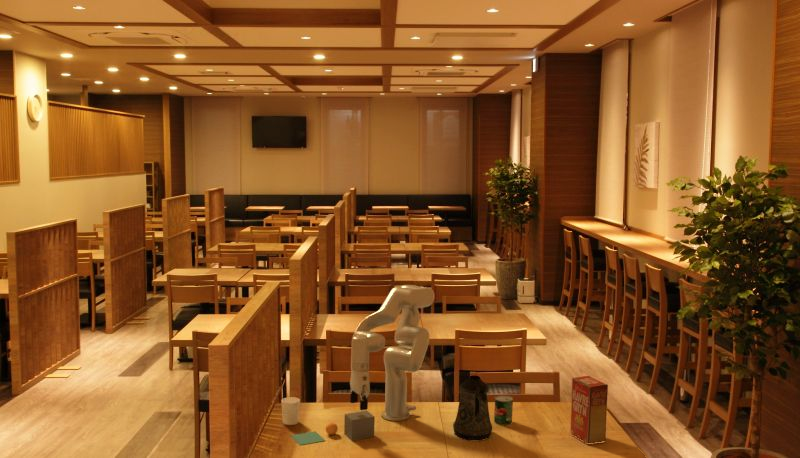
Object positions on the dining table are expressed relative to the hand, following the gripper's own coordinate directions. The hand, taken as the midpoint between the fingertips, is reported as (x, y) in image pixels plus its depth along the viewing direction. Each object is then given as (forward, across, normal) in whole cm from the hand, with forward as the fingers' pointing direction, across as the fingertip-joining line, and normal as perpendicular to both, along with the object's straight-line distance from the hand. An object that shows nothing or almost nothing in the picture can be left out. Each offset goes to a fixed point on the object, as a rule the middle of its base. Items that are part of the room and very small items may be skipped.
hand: (358, 406), depth 326 cm
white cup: (+13, +26, +20) cm, 36 cm away
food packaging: (+12, -42, -87) cm, 97 cm away
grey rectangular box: (+13, 0, -1) cm, 13 cm away
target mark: (+13, +6, +20) cm, 25 cm away
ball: (+11, +6, +9) cm, 15 cm away
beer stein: (+12, -18, -46) cm, 51 cm away
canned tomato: (+12, -12, -65) cm, 67 cm away
